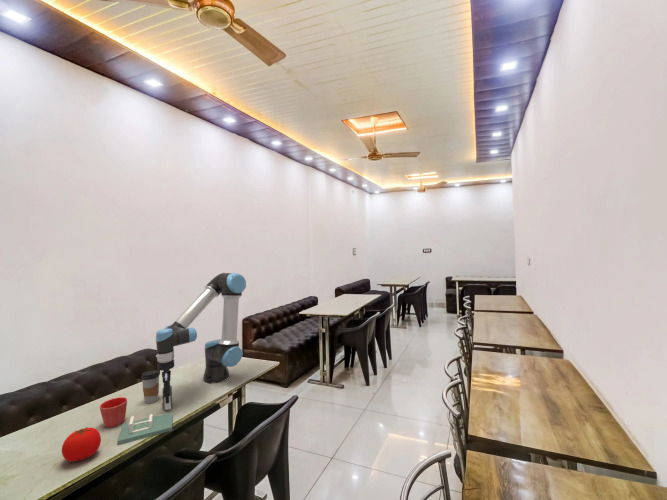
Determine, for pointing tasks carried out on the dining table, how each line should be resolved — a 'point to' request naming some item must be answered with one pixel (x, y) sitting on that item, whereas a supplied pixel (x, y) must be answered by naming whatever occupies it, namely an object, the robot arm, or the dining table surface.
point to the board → (145, 427)
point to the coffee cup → (150, 386)
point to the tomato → (81, 444)
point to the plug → (170, 398)
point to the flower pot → (114, 411)
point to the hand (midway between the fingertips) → (167, 406)
